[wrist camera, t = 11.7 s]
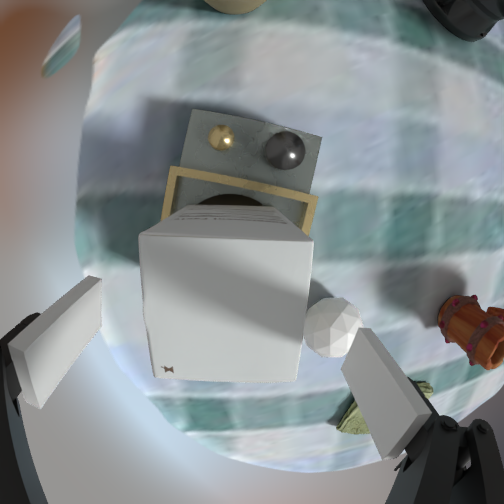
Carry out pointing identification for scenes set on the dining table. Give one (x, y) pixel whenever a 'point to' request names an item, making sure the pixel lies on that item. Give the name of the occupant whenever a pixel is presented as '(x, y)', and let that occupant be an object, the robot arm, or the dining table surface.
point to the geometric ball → (331, 326)
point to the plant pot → (235, 5)
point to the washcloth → (356, 422)
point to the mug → (474, 330)
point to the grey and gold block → (244, 167)
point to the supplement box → (225, 294)
